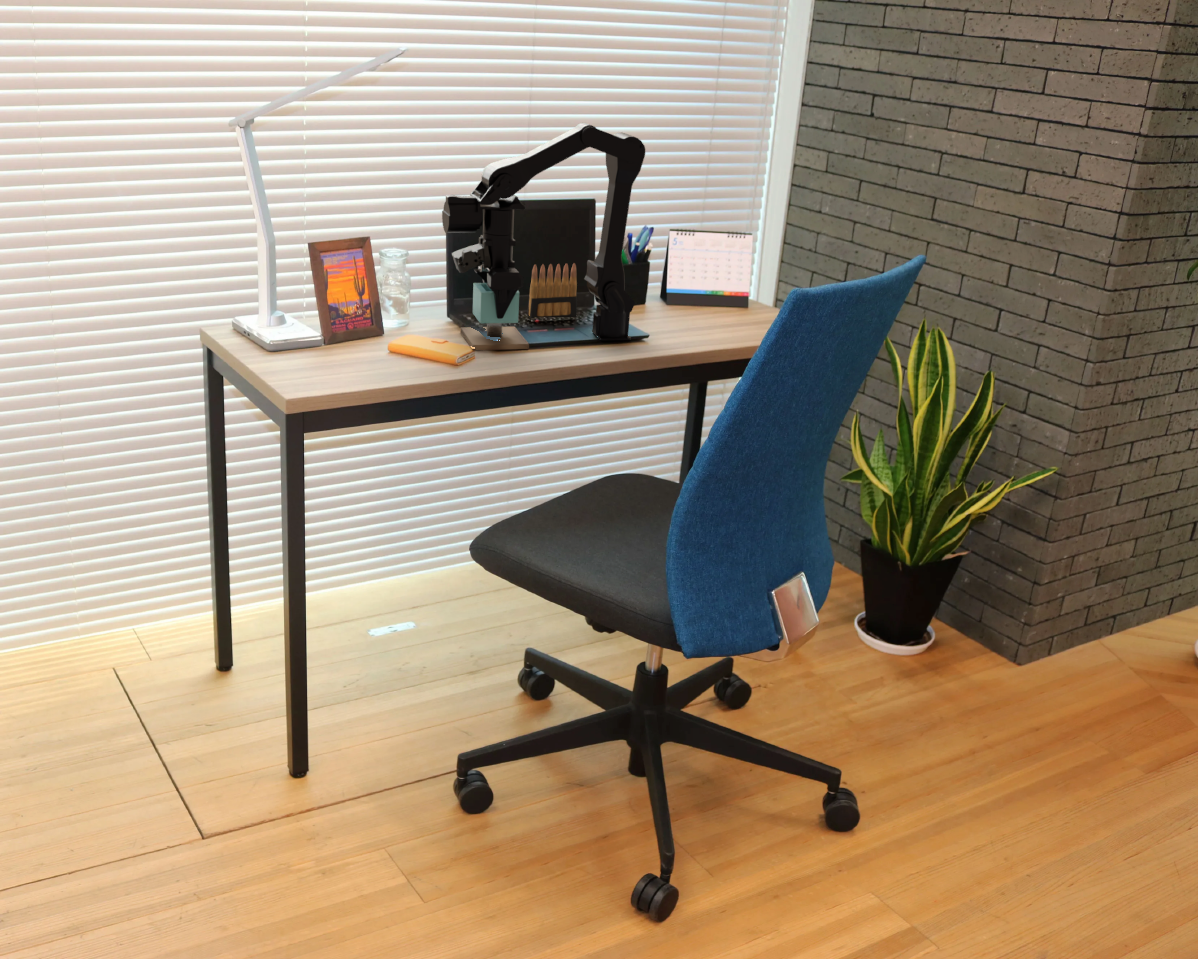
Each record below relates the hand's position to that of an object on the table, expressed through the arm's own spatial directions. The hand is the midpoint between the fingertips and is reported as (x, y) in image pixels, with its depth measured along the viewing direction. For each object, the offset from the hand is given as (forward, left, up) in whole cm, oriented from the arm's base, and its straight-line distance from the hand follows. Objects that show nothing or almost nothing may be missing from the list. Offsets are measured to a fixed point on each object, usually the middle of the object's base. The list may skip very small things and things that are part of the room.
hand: (495, 313), depth 223 cm
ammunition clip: (-15, -14, -6) cm, 22 cm away
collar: (0, 0, -1) cm, 1 cm away
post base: (0, 0, -6) cm, 6 cm away
